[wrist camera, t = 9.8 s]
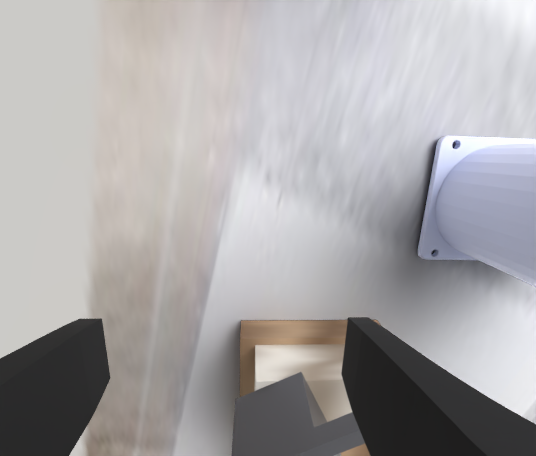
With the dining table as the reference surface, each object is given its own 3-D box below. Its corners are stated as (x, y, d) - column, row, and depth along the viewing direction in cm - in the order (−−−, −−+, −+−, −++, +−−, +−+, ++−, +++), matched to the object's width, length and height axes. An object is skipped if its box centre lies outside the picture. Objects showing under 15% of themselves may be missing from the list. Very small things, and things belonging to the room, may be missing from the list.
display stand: (376, 319, 20) (444, 409, 13) (354, 469, 24) (397, 601, 17) (241, 320, 20) (234, 414, 13) (240, 474, 24) (235, 613, 16)
